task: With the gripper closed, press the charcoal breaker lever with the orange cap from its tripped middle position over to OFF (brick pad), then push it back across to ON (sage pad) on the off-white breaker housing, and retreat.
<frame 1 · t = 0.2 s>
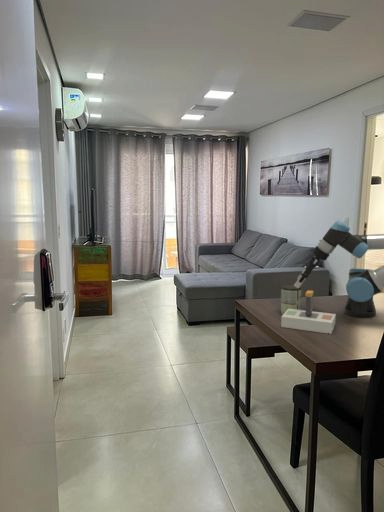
hand: (297, 283, 193), 16 cm above the table, tool tilted 35°, fingers open, 13 cm apart
breaker housing: (308, 325, 178), on the table
coffee can: (290, 313, 198), on the table
breaker lever: (309, 303, 176), point 11 cm above the table, hinge at 0.0°
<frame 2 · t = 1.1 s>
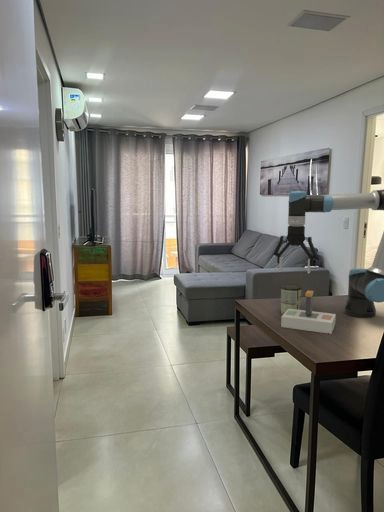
hand: (294, 271, 178), 25 cm above the table, tool pointing down, fingers open, 12 cm apart
nothing on the table moved.
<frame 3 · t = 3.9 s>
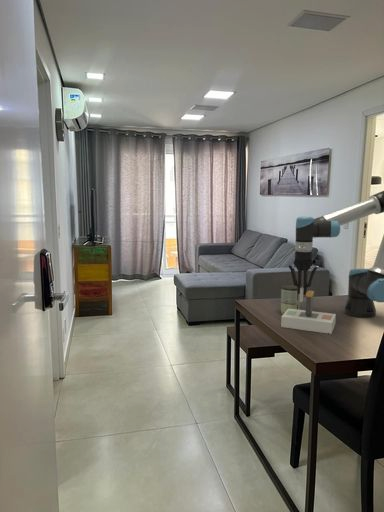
hand: (301, 301, 178), 11 cm above the table, tool pointing down, fingers closed
breaker lever: (309, 303, 176), point 11 cm above the table, hinge at -1.2°, touching gripper
everything else where it was.
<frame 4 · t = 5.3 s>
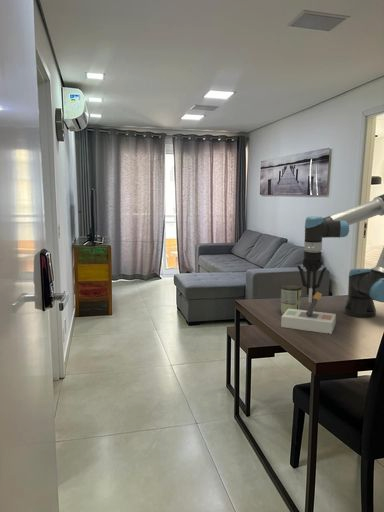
hand: (310, 301, 176), 11 cm above the table, tool pointing down, fingers closed
breaker lever: (313, 304, 175), point 10 cm above the table, hinge at -22.0°, touching gripper
everything else where it was.
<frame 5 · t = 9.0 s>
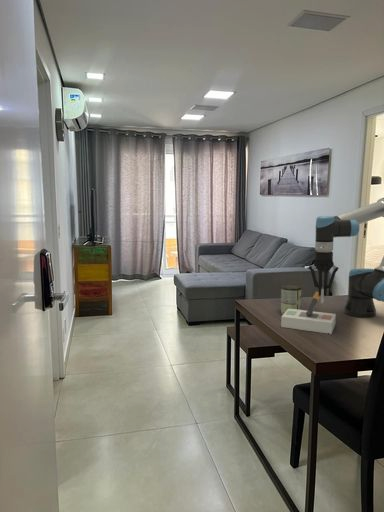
hand: (322, 302, 173), 12 cm above the table, tool pointing down, fingers closed
breaker lever: (313, 304, 175), point 10 cm above the table, hinge at -20.4°, touching gripper
everything else where it was.
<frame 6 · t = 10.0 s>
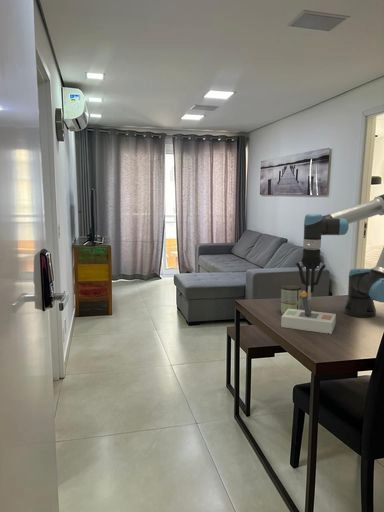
hand: (309, 299, 176), 13 cm above the table, tool pointing down, fingers closed
breaker lever: (306, 303, 177), point 11 cm above the table, hinge at 12.4°, touching gripper
everything else where it was.
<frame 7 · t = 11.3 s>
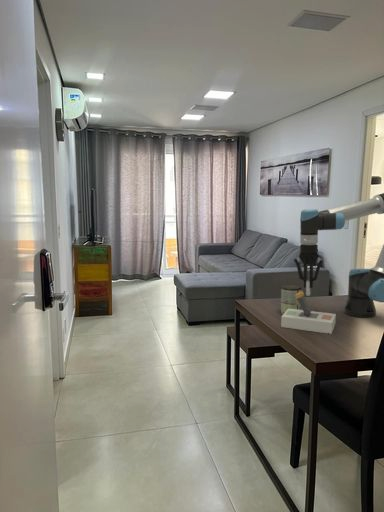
hand: (308, 294, 176), 15 cm above the table, tool pointing down, fingers closed
breaker lever: (303, 303, 177), point 10 cm above the table, hinge at 26.5°
everything else where it was.
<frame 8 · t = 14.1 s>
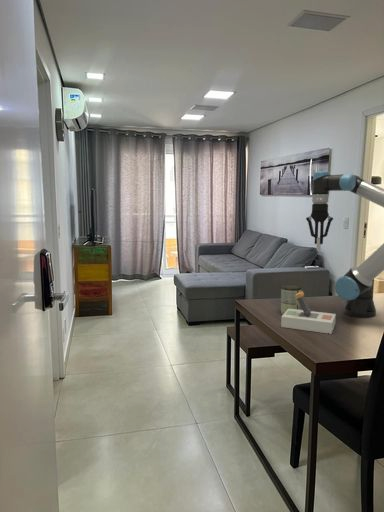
hand: (318, 250, 192), 32 cm above the table, tool pointing down, fingers closed
nothing on the table moved.
at the end: breaker lever at +27° (first picture: +0°) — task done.
